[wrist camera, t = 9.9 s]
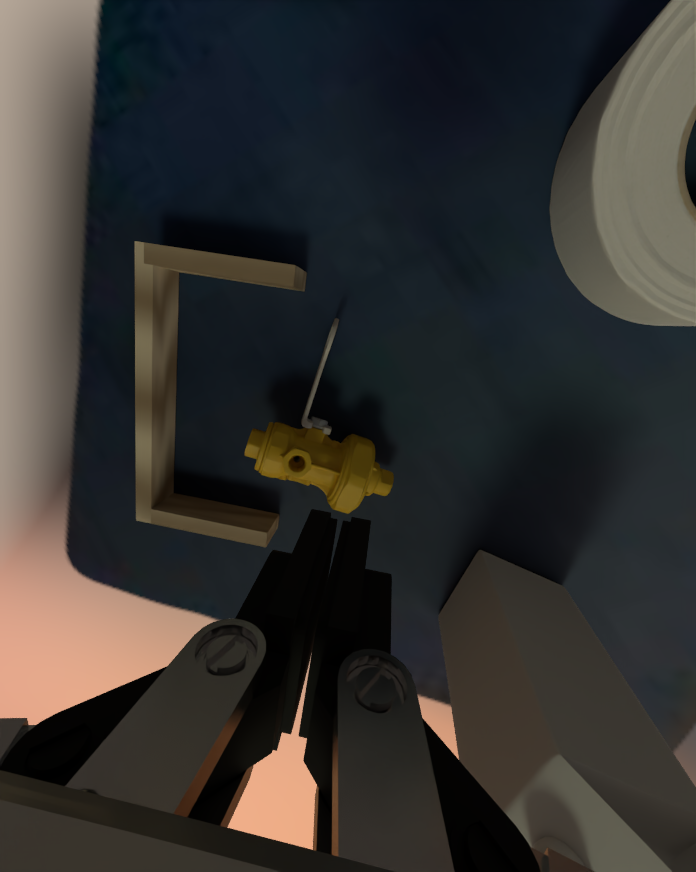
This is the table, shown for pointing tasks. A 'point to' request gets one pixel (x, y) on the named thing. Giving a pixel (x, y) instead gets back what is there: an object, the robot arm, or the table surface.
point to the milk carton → (560, 727)
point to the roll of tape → (634, 180)
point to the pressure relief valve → (320, 455)
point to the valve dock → (159, 388)
